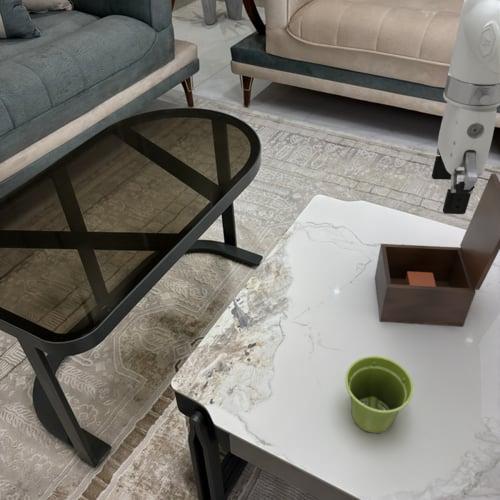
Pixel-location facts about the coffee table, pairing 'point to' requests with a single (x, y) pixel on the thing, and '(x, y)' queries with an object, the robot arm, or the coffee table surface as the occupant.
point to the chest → (423, 297)
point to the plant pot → (377, 391)
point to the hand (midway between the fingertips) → (447, 194)
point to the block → (420, 279)
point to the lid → (483, 234)
